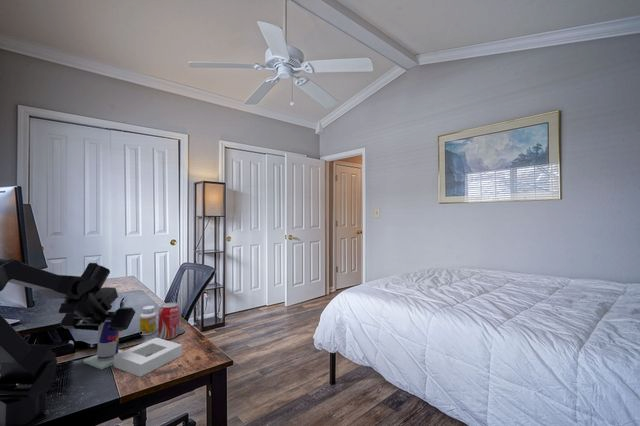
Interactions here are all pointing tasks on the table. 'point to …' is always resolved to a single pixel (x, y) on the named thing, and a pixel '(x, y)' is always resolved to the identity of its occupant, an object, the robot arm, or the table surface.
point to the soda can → (168, 321)
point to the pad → (99, 362)
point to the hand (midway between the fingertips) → (112, 329)
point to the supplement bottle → (148, 320)
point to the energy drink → (107, 342)
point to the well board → (140, 364)
